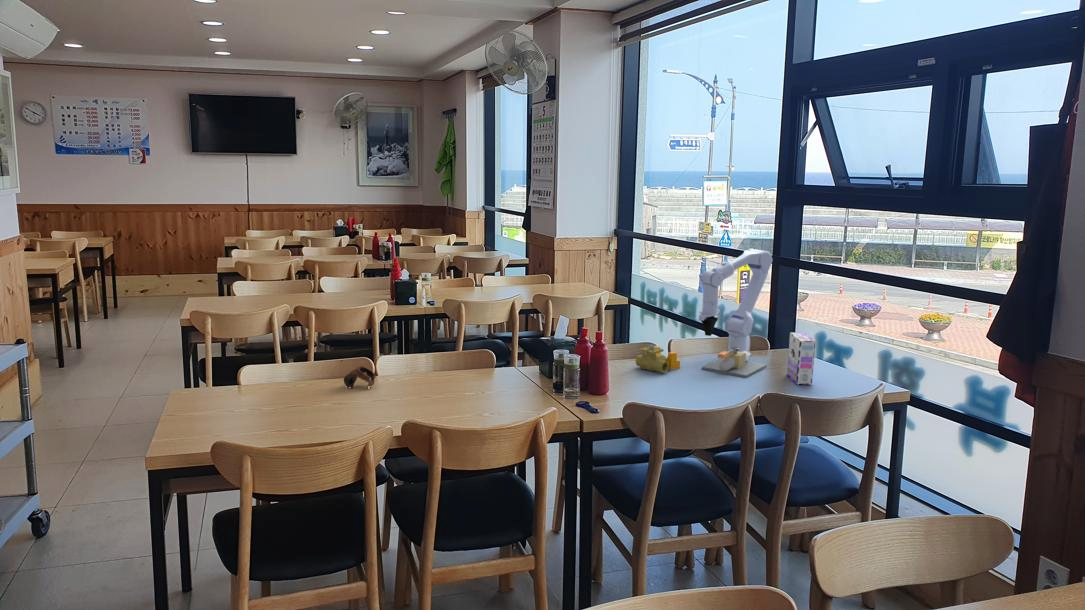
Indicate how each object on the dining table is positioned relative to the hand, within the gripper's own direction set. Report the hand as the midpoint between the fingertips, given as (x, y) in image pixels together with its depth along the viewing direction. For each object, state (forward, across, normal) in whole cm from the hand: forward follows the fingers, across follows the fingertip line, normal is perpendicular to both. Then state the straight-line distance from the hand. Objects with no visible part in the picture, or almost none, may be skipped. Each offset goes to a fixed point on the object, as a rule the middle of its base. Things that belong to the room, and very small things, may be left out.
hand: (708, 335), depth 323 cm
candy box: (+11, +2, +38) cm, 40 cm away
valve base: (+10, +3, +13) cm, 17 cm away
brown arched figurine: (+11, +111, -78) cm, 136 cm away
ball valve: (+11, +25, -10) cm, 29 cm away
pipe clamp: (+11, +16, -10) cm, 22 cm away
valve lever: (+4, +9, +13) cm, 16 cm away
